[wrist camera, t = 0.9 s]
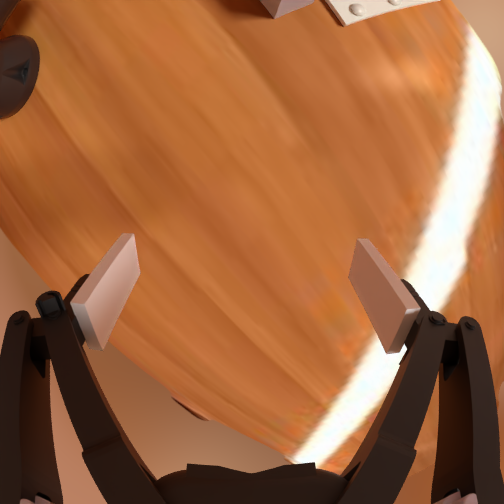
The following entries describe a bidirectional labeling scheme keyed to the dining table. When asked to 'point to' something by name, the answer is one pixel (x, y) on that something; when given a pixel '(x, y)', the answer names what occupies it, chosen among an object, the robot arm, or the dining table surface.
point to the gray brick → (284, 6)
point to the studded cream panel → (368, 8)
